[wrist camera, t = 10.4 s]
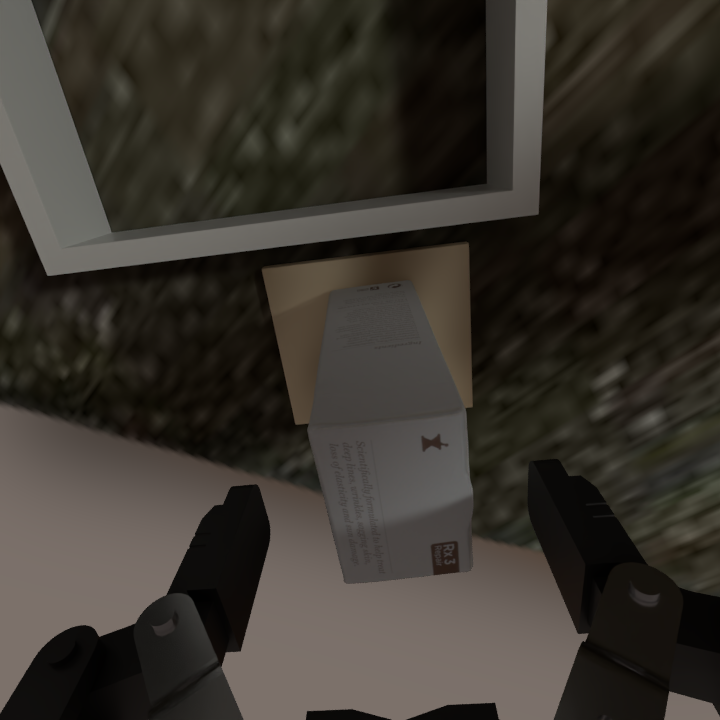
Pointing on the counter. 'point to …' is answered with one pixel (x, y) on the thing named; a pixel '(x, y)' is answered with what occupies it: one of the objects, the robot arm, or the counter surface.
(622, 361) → the counter surface
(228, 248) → the case
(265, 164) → the counter surface
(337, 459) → the skincare box
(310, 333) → the mat
